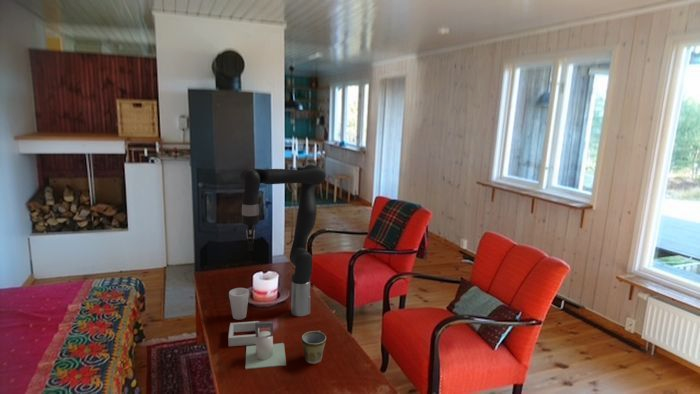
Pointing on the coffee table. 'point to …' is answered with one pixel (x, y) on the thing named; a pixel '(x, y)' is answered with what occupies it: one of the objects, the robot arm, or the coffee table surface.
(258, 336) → the egg with flat handle
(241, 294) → the foam cup
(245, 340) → the frame
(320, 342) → the ceramic cup
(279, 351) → the mat
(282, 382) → the coffee table surface
